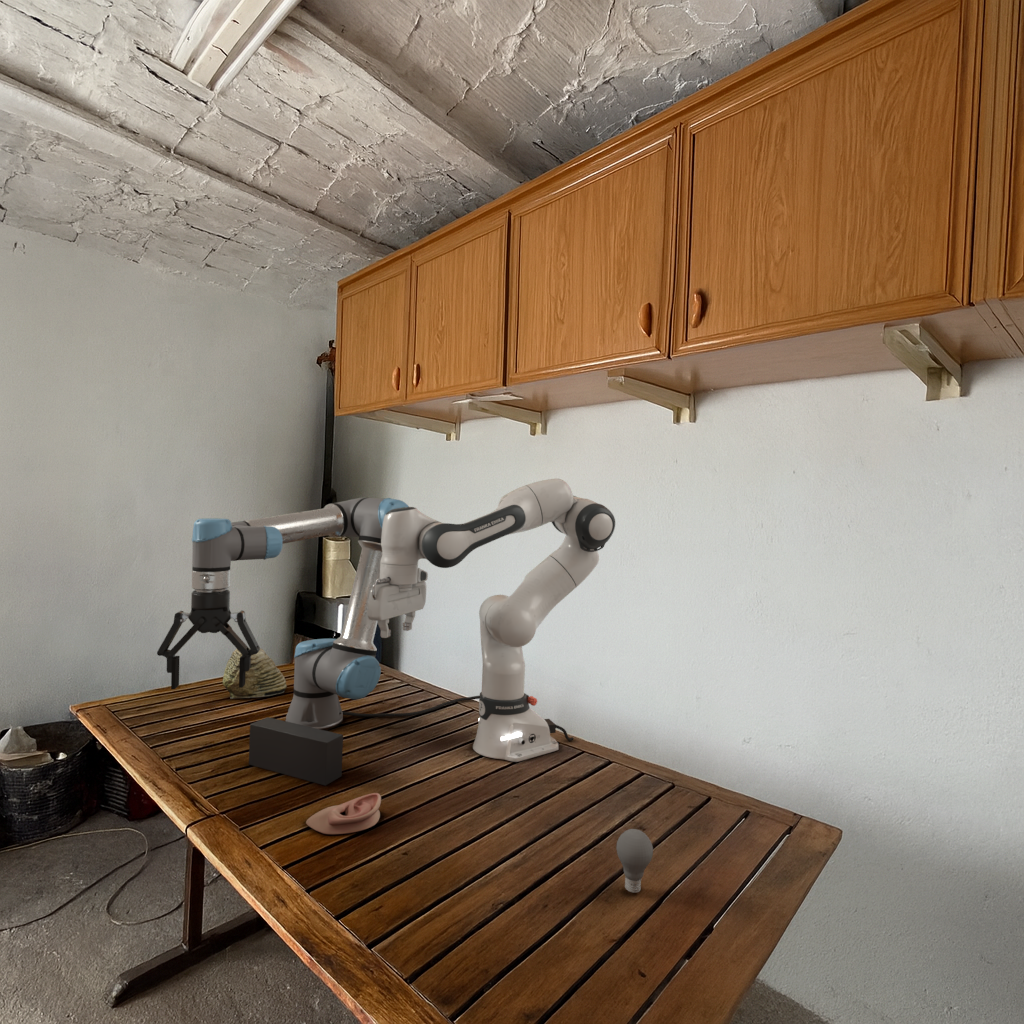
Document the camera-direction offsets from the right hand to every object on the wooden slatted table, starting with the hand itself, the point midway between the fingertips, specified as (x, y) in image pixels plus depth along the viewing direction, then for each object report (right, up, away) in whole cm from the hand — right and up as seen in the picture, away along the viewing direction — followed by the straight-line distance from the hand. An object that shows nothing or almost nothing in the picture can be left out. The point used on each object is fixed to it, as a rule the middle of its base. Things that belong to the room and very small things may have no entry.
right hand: (396, 633), depth 150 cm
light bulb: (+47, -35, -44) cm, 74 cm away
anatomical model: (-6, -32, -26) cm, 41 cm away
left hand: (-39, -9, -12) cm, 42 cm away
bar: (-23, -31, -4) cm, 39 cm away
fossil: (-53, -28, +48) cm, 77 cm away
